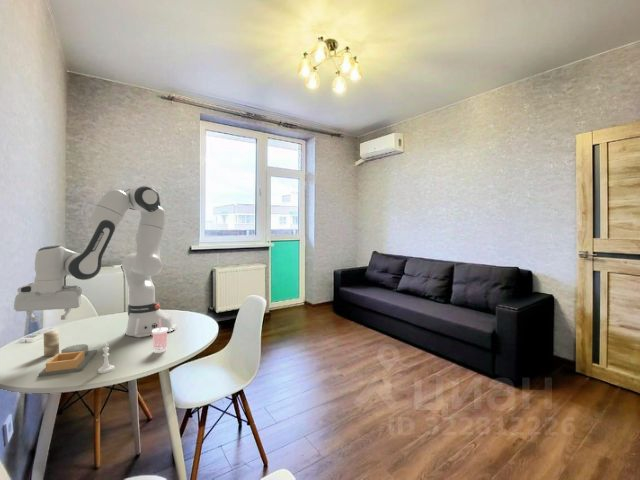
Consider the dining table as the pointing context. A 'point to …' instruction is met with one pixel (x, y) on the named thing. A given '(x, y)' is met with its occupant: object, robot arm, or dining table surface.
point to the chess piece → (106, 361)
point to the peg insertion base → (69, 360)
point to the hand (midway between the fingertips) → (49, 320)
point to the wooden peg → (51, 343)
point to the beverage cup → (160, 338)
